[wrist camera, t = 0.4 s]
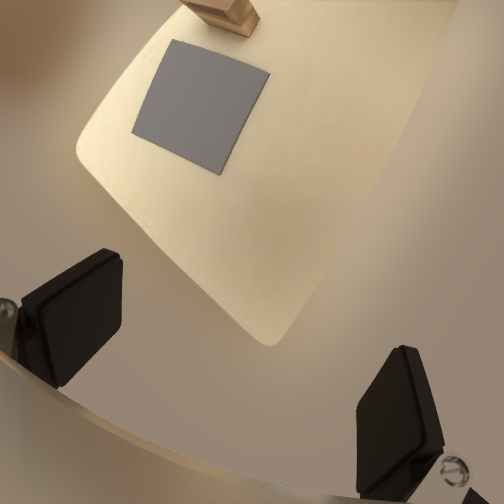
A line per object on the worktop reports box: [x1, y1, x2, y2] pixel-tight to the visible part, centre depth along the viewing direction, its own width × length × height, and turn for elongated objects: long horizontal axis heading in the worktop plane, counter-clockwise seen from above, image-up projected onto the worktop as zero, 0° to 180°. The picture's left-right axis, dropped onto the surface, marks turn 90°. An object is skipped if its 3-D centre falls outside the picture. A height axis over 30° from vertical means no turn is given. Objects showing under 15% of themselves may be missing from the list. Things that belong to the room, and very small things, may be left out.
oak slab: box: [179, 0, 260, 37], centre depth 26 cm, size 3×6×9 cm, turn 63°
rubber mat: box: [132, 39, 270, 175], centre depth 35 cm, size 14×14×1 cm
